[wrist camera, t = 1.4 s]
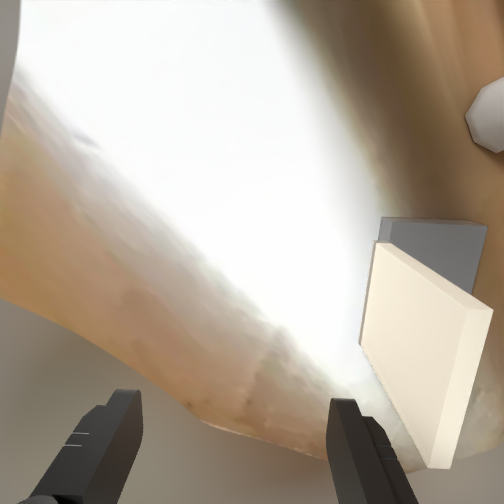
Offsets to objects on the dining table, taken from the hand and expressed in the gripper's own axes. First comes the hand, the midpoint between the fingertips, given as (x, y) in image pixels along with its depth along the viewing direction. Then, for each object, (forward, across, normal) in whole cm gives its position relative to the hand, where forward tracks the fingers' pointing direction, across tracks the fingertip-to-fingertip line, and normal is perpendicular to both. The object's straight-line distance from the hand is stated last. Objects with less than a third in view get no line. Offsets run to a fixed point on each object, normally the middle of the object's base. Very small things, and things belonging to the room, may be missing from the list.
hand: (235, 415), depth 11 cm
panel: (+24, +14, -6) cm, 29 cm away
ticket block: (+28, +20, -5) cm, 34 cm away
